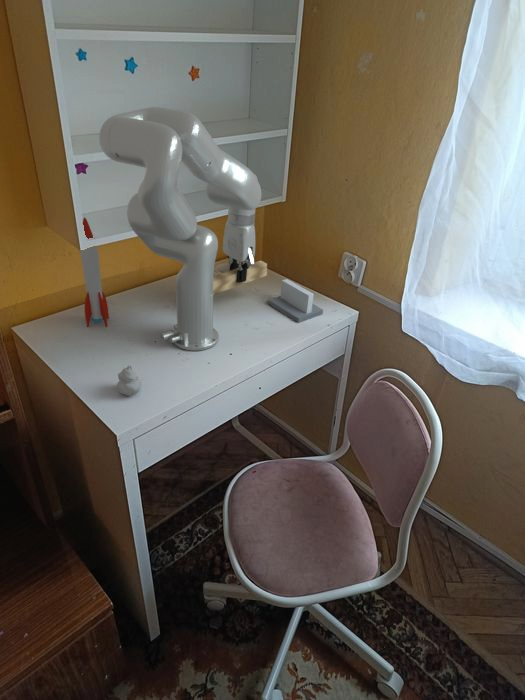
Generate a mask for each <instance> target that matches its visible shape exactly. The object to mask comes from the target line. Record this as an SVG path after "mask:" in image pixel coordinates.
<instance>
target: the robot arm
mask: <svg viewBox="0 0 525 700" xmlns="http://www.w3.org/2000/svg"><path fill="white" fill-rule="evenodd" d="M98 137H99V139H98V140H99V146H100V148H101V150H102V151H103V153H104V155H105V156H106V157H108V158H109V159H110V160H111V161H114V162H118V163H121V164H125V165H130V166H137V167H141V168H146V171H145V175H144V178H143V180H142V181H141V183H140V185H139V188H138V190H137V193H135V194H134V195H133V196H132V197H131V198H130V200H129V201H128V203H127V209H126V216H127V221H128V224H129V227H130V228H131V229H132V231H133V232H134V233H135V234H136V236H137V237H138V238H139V239H140V240H141V241H142V243H143V244H144V245H145V246H146V247H147V248H148V249H149V250H150V251H151V252H152V253H154V254H155V255H158V256H160V257H163V258H167V259H171V260H174V261H176V262H179V263H182V265H183V266H182V268H181V269H180V270H179V272H177V275H176V277H175V297H176V298H175V301H176V302H175V303H176V324H175V323H174V324H173V329H171V330H170V331H166V332H162V333H160V338H161V340H162V341H163V342H165V341H167V340H170V343H172V344H174V345H175V346H176V347H178V348H180V349H183V350H185V351H186V350H187V351H193V352H194V351H204V350H208V349H210V348H212V347H214V346H216V344H217V343H218V341H219V336H220V335H219V331H217V329H215V328H214V294H213V278H214V276H215V275H214V273H215V264H216V259H217V254H218V250H219V239H218V236H217V235H216V234H215V232H214V231H212V230H211V229H209V228H208V227H205V226H202V225H198V220H197V216H196V214H195V211H194V210H193V209H192V207H191V206H190V204H189V202H188V201H187V200H186V197H185V196H184V195H183V193H182V191H181V190H180V187H179V186H178V178H179V172H180V167H181V164H183V165H184V166H185V168H187V169H188V171H189V172H190V173H191V175H193V176H194V177H195V178H196V179H198V180H199V181H203V182H205V183H206V188H205V192H206V196H207V197H208V200H210V201H211V202H212V203H213V204H215V205H219V206H224V207H228V209H227V210H228V212H227V213H228V214H227V220H226V223H225V227H224V230H223V241H222V252H223V254H225V255H226V257H227V260H228V265H229V271H230V270H234V269H237V268H239V270H237V282H238V283H240V282H244V281H246V278H247V269H249V267H250V266H253V265H254V263H255V255H256V227H255V222H256V221H255V220H256V208H257V207H258V206H259V205H260V203H261V202H262V201H261V200H262V188H261V185H260V183H259V181H258V176H257V175H256V174H255V173H254V172H253V171H252V170H251V169H250V168H249V167H248V166H246V165H245V164H243V163H242V162H240V161H239V160H237V159H236V158H234V157H233V156H232V155H230V154H228V153H227V152H225V151H224V150H222V149H221V148H219V145H218V144H217V142H215V140H214V139H213V137H212V135H211V134H210V133H209V132H208V130H207V128H205V126H204V124H203V123H202V121H201V120H200V119H199V118H198V116H196V115H195V114H193V113H191V112H189V111H184V110H180V109H179V110H178V109H172V108H164V107H159V106H150V107H144V108H140V109H136V110H132V111H128V112H127V111H126V112H122V113H118V114H115V115H112V116H110V117H108V118H107V119H106V120H105V121H104V122H103V124H102V125H101V128H100V130H99V136H98Z"/></svg>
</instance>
